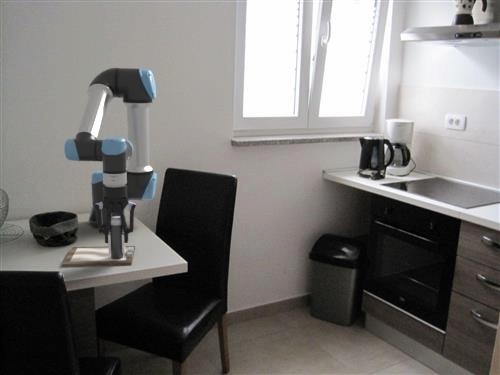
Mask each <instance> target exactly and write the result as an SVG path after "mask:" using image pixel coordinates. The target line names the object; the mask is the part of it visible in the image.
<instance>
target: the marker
mask: <svg viewBox="0 0 500 375" xmlns="http://www.w3.org/2000/svg"><path fill="white" fill-rule="evenodd" d="M109 232H110V234H111V258H112V259H121V258H123V253H122V233H123V232H124V231H123V227H122V223H121V218H120V216H113V217H111V221H110V229H109Z"/></svg>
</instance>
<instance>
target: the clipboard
mask: <svg viewBox="0 0 500 375" xmlns="http://www.w3.org/2000/svg"><path fill="white" fill-rule="evenodd" d="M135 250H136V246H135V245H125V253H123V258H121V259H112V258H111V253H109V249H108V245H106V246H72V247H71V249H70V250H69V252H68V254H67V256H66V258H65V259H64V260H63V262H62V267H63V268H65V267H66V268H67V267H96V266H97V267H99V266H101V267H102V266H103V267H104V266H106V267H107V266H132V264H133V259H134V255H135Z"/></svg>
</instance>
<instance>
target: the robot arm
mask: <svg viewBox="0 0 500 375" xmlns="http://www.w3.org/2000/svg"><path fill="white" fill-rule="evenodd" d="M156 87H157V86H156V81H155V76H154V74H153V72H152V70H150V69H147V68H128V67H126V68H123V67H121V68H120V67H110V68H107V69H105V70H102V71H101V72H100V73H98V74H97V75H96V76H95V77H94V78H93V79H92V81H91V82H90V83H89V86H88V89H87V95H88V98H87V101H86V104H85V107H84V110H83V112H82V116H81V119H80V121H79V122H80V123H79V125H78V129H77V132H76V134H75V137H73V138H68V139H67V140H65V142H64V148H63V150H64V155H65V158H66V160H68V161H74V162H102V169H99V170H96V171H94V172H93V173H92V174H91V183H90V184H91V201H92V206H91V210H90V213H89V217H88V225H89V226H90V227H92V228H97V229H98V232H99V234H103V235H104V244H108V245H107V246H108V249H109V253H111V234H110V221H111V217H113V216H120V218H121V223H122V227H123V233H122V253H125V246H126V244H128V242H129V234H130V233H133V232H134V230H135V229H134V226H135V224H134V223H135V209H136V207H137V203H136V202H132V201H141V202H143V201H152V200H153V198H155V195H156V190H157V184H158V173H156V172H154V168H153V167H152V166H151V165H150V121H149V120H150V118H149V116H150V115H149V114H150V112H149V108H150V106H152V104H153V100H154V99H156V98H157V88H156ZM113 98H118V99H119V98H120V99H122V104H123V105H124V106H126V123H127V125H126V126H127V129H126V130H127V139H125V138H124V137H119V136H117V137H116V136H115V137H114V136H110V137H109V136H108V137H104V138H103V139H100V138H99V137H100V136H101V135H100V133H101V130H102V128H103V123H104V120H105V116H106V113H107V110H108V106H109V104H110V103H111V102H112V101H113ZM127 162H128V163H127ZM127 164H128V165H127ZM127 206H128V209H130V210H129V225H128V224H127V219H126V217H127V216H126V214H125V209H126V207H127ZM128 226H129V227H128Z"/></svg>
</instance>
